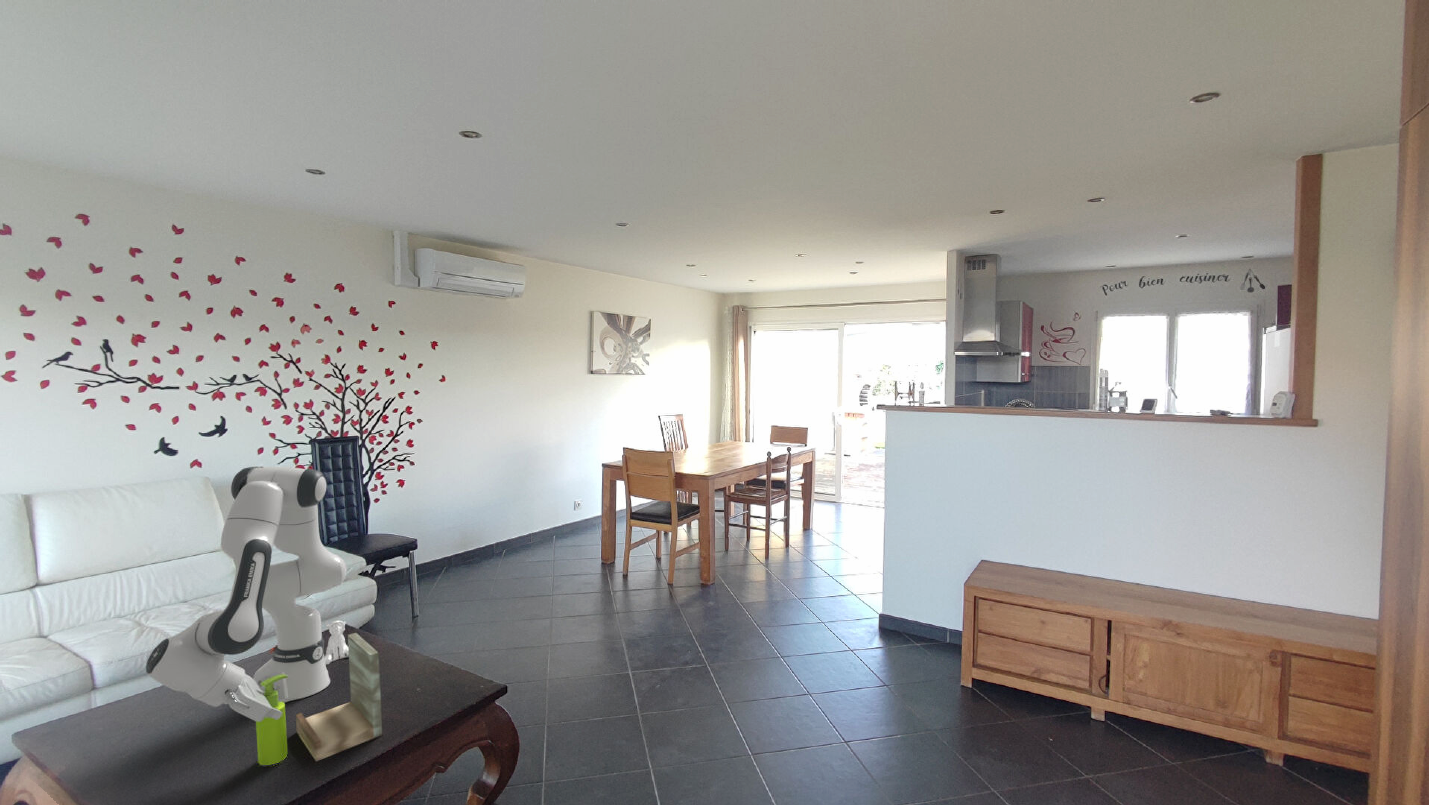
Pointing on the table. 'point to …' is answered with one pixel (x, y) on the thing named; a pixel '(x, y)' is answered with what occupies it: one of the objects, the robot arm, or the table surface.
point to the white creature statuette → (336, 642)
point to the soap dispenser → (272, 728)
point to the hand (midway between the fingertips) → (275, 708)
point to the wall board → (348, 708)
